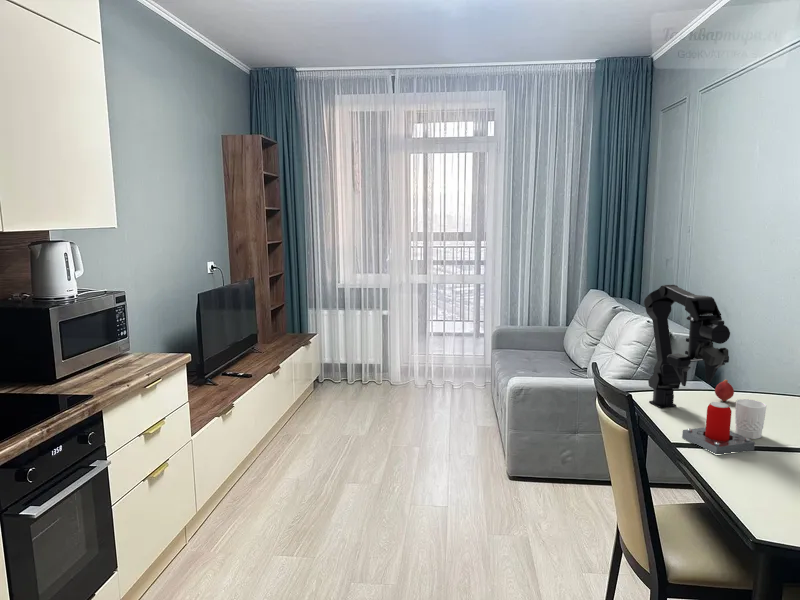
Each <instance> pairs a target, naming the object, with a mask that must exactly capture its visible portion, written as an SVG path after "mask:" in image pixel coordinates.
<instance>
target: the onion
mask: <svg viewBox="0 0 800 600" xmlns="http://www.w3.org/2000/svg"><path fill="white" fill-rule="evenodd" d="M728 381H729V380H728V379H724V380H723V381H721V382H719V383H718V384H716V386H715V389H714V393H715V396H716V397H717V398H719V400H720V401H722V402H727V401H729V400H730V399H732V398H733V396H734V394H735V390H734V388H733V386H732V384H731V383H729V382H728Z"/></svg>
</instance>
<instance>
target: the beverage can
mask: <svg viewBox="0 0 800 600" xmlns="http://www.w3.org/2000/svg"><path fill="white" fill-rule="evenodd" d="M731 422H732V409H731V407H730V405H729V404H728V403H725V402H723V401H722V402H721V401H720V402H719V401H712V402H710V403H709V404H708V406H707V407H706V419H705V427H706V431H705V436H706V437H708V438H710V439H713V440H718V441H729V437H730V431H731Z"/></svg>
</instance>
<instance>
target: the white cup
mask: <svg viewBox="0 0 800 600" xmlns="http://www.w3.org/2000/svg"><path fill="white" fill-rule="evenodd" d="M766 411H767V404H766V403H764V402H762V401H760V400H755V399H749V398H748V399H747V398H739V399H737V400H735V415H734V416H735V418H734V419H735V420H734V421H735V431H734V433H736V434H739V435H741V436H743V437H745V438H749V439H750V440H756V439H758V440H759V439H761V438H762V435H763V429H764V424H765V420H766V419H765V418H766V414H767V413H766Z"/></svg>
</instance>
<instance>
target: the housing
mask: <svg viewBox="0 0 800 600" xmlns="http://www.w3.org/2000/svg"><path fill="white" fill-rule="evenodd" d="M705 431H706V426H704V427H697V428H695V427H694V428H689V427H688V428H687V429H682V434H681V435H682V436H681V438H682V439H683V438H684V440H685V439H686V440H685V441H687V440H688V442H689V441H690V442H689V443H691V442H692V443H691V444H693V443H694V444H693V445H695V444H697V445H699V446H701V447H703V448H705V449H707V450H709V451H711V452H713V453H715V454H724V453H731V452H738V453H744V452H743V451H746V452H752V450H753V451H755V445H756V442H755V441H754V440H753V439H750V438H745V437H743V436H741V435H739V434H736V432H735V431H732V430H730V437H729V441H718V440H713V439H710V438H708V437H706V436H705ZM697 445H696V446H697ZM699 446H698V447H699ZM701 447H700V448H701ZM731 454H732V453H731ZM724 455H725V454H724Z"/></svg>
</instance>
